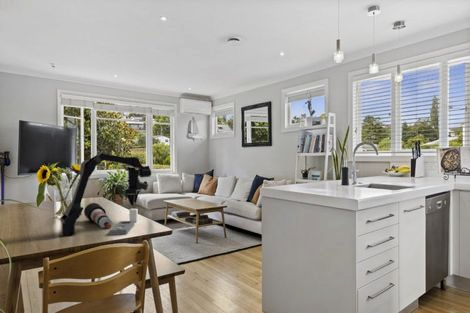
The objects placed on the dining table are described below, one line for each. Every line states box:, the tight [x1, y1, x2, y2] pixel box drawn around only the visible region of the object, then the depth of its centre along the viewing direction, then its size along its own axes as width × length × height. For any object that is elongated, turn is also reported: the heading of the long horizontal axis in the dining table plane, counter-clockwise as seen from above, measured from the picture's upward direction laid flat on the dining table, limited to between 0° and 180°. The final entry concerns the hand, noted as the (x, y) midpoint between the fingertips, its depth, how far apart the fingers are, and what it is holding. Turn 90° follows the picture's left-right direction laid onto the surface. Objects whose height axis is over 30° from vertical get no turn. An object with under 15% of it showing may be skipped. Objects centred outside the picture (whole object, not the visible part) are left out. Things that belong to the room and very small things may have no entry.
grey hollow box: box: [109, 220, 135, 236], centre depth 163 cm, size 20×8×4 cm, turn 7°
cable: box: [83, 202, 113, 229], centre depth 178 cm, size 10×34×10 cm, turn 36°
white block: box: [129, 208, 139, 224], centre depth 181 cm, size 4×4×8 cm
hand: (133, 203), depth 181 cm, fingers open, 9 cm apart
